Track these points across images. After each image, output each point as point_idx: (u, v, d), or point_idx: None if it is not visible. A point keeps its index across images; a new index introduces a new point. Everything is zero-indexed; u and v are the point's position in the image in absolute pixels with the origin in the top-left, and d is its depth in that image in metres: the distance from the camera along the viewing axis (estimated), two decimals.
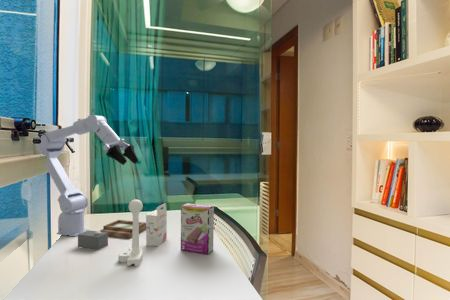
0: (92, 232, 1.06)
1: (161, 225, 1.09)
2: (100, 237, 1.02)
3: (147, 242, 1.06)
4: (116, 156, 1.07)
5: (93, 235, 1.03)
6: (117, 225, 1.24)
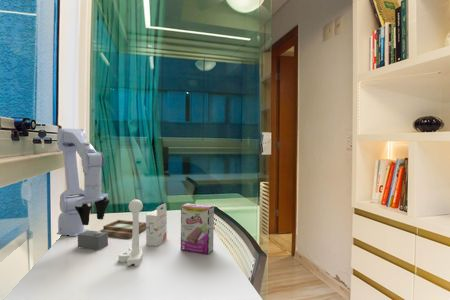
0: (92, 232, 1.06)
1: (161, 225, 1.09)
2: (100, 237, 1.02)
3: (147, 242, 1.06)
4: (82, 213, 1.00)
5: (93, 235, 1.03)
6: (117, 225, 1.24)
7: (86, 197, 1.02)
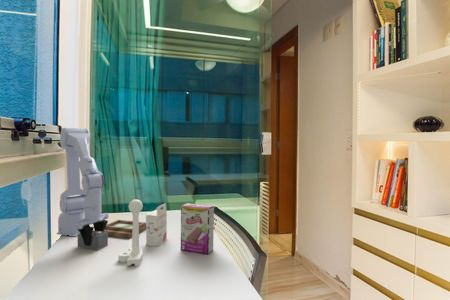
0: (92, 232, 1.06)
1: (161, 225, 1.09)
2: (100, 236, 1.02)
3: (147, 242, 1.06)
4: (84, 234, 1.02)
5: (93, 235, 1.03)
6: (117, 225, 1.24)
7: (86, 218, 1.02)
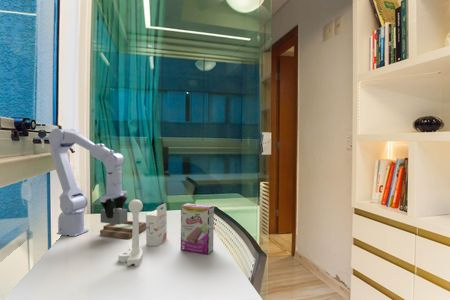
0: None
1: (161, 225, 1.09)
2: (121, 212, 1.12)
3: (147, 242, 1.06)
4: (107, 207, 1.12)
5: (114, 210, 1.13)
6: (117, 225, 1.24)
7: (108, 194, 1.12)
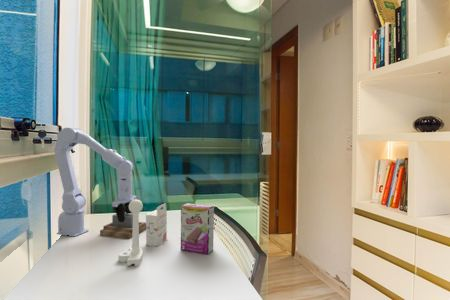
0: None
1: (161, 225, 1.09)
2: (132, 217, 1.19)
3: (147, 242, 1.06)
4: (118, 212, 1.19)
5: (126, 216, 1.20)
6: None
7: (120, 199, 1.19)
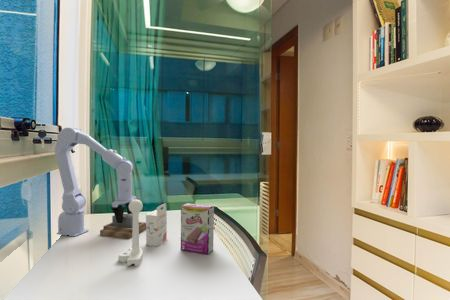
0: (124, 214, 1.23)
1: (161, 225, 1.09)
2: (132, 218, 1.19)
3: (147, 242, 1.06)
4: (117, 213, 1.18)
5: (126, 216, 1.20)
6: None
7: (120, 199, 1.19)
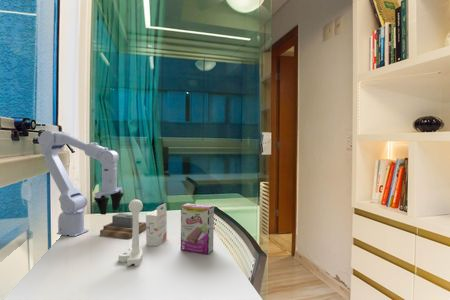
0: (124, 214, 1.23)
1: (161, 225, 1.09)
2: (132, 218, 1.19)
3: (147, 242, 1.06)
4: (100, 204, 1.14)
5: (126, 216, 1.20)
6: None
7: (104, 190, 1.15)
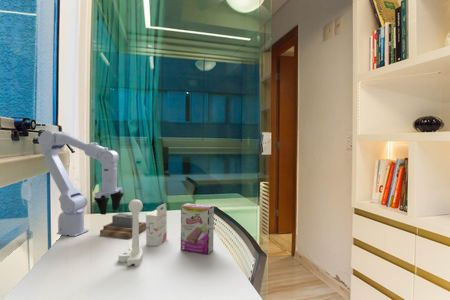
0: (124, 214, 1.23)
1: (161, 225, 1.09)
2: (132, 218, 1.19)
3: (147, 242, 1.06)
4: (100, 204, 1.14)
5: (126, 216, 1.20)
6: None
7: (104, 190, 1.15)
